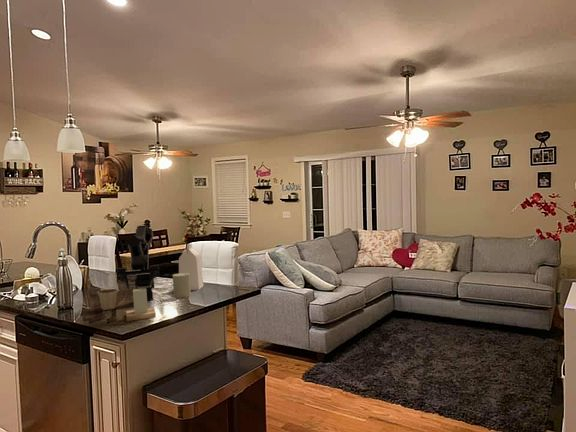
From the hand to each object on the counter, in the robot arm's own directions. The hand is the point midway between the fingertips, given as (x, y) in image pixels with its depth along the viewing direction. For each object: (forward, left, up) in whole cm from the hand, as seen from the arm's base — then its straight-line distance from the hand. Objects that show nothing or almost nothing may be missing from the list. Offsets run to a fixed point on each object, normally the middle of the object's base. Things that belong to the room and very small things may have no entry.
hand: (139, 287), depth 196 cm
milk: (-9, +60, -13) cm, 62 cm away
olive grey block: (-3, +40, -13) cm, 42 cm away
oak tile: (+1, -1, -13) cm, 13 cm away
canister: (+1, -1, -11) cm, 11 cm away
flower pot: (-25, +9, -13) cm, 30 cm away
